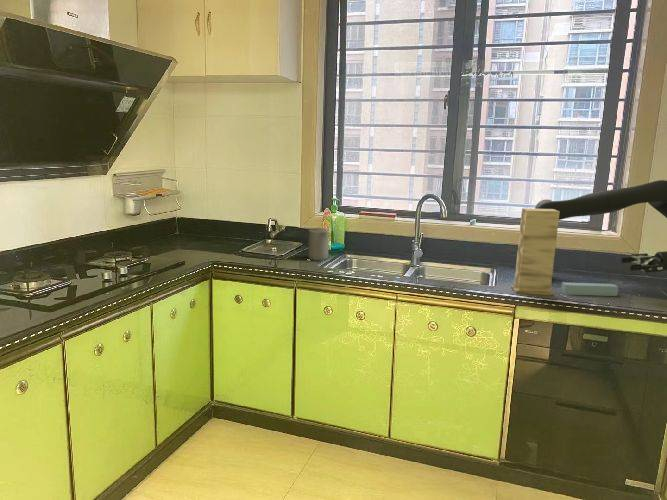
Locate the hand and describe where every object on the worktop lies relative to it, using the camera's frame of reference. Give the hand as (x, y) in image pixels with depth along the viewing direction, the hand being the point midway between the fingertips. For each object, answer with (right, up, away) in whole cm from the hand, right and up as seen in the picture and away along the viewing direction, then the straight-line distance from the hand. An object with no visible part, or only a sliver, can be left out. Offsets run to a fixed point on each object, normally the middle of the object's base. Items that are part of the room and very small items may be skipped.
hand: (625, 263), depth 201 cm
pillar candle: (-119, +1, +52) cm, 130 cm away
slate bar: (-13, -12, +3) cm, 18 cm away
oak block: (-34, -11, +4) cm, 36 cm away
